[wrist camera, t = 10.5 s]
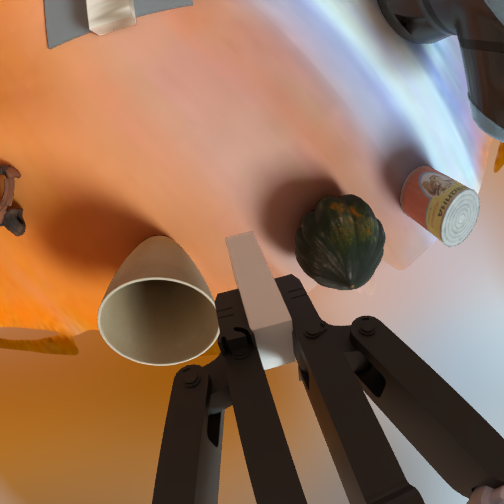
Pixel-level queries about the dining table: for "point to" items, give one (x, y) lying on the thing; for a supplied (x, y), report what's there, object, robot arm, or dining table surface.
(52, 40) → the mat
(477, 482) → the robot arm
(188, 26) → the dining table surface
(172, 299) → the plant pot
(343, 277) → the squash
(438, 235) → the canned food
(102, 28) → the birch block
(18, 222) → the vr controller
